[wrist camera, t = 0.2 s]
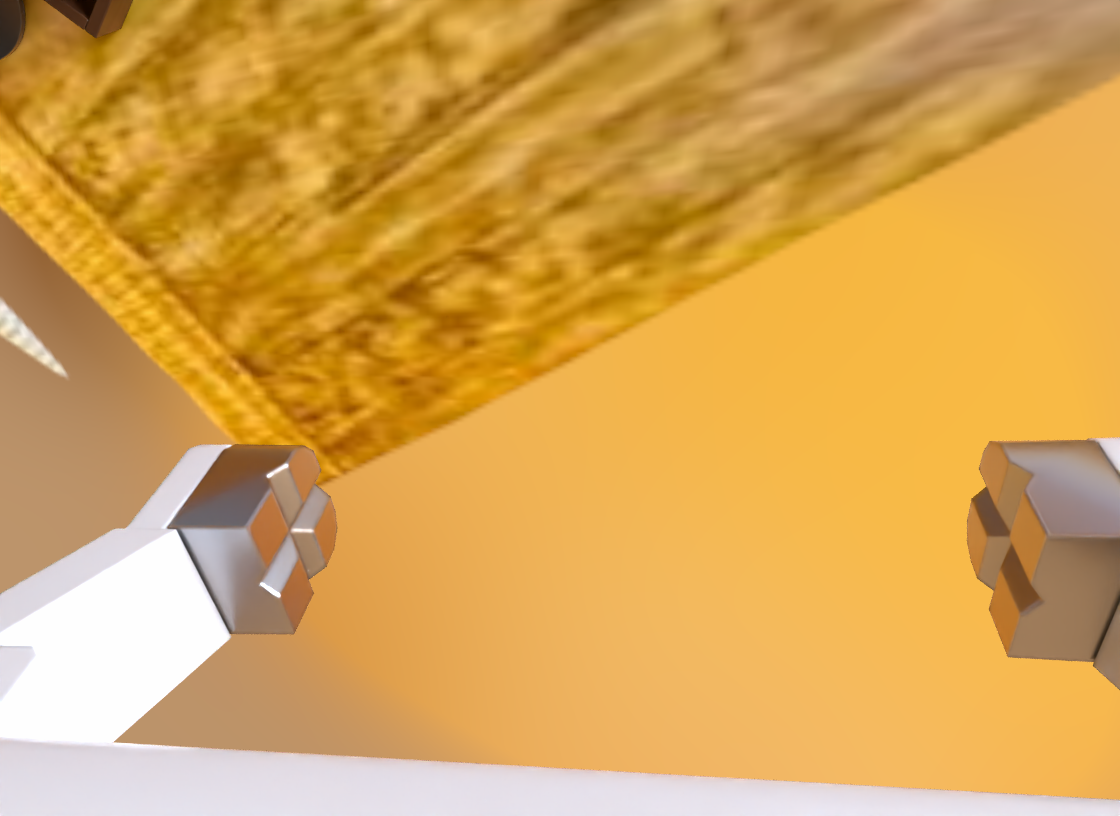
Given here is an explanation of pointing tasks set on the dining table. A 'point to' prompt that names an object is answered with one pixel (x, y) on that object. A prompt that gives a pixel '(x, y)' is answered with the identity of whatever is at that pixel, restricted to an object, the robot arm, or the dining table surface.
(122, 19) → the spice rack
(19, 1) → the coaster
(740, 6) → the dining table surface
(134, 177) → the dining table surface
